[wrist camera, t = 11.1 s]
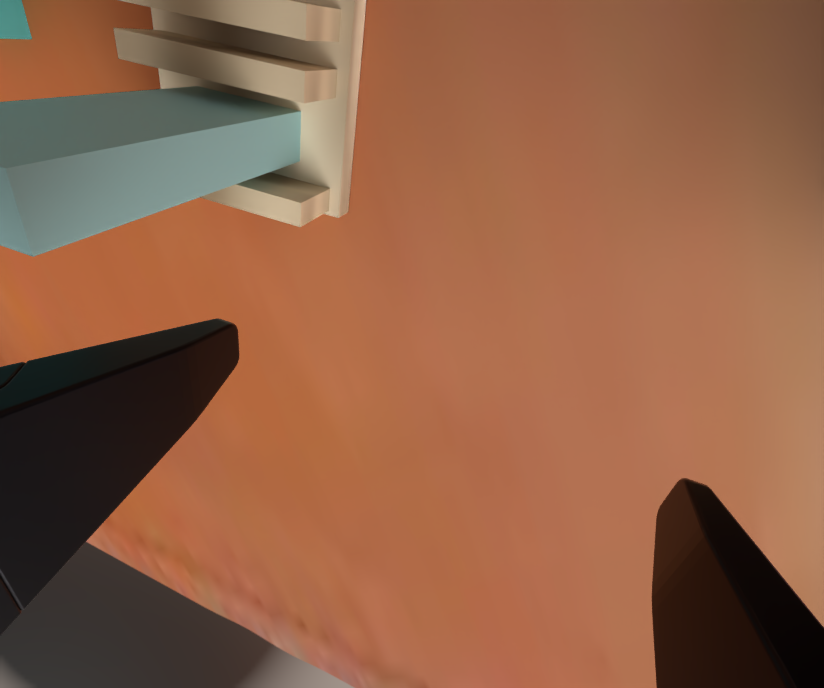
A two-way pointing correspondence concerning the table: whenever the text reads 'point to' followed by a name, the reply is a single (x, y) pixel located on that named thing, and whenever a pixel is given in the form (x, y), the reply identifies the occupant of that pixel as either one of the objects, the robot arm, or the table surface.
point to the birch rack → (269, 85)
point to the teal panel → (128, 157)
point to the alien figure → (13, 20)
